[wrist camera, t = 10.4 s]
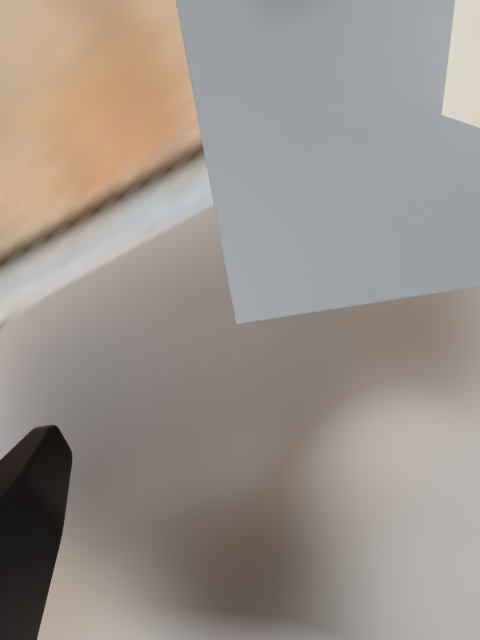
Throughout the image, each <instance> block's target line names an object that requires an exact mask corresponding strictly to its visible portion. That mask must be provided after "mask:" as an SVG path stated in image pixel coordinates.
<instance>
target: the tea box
mask: <svg viewBox="0 0 480 640" xmlns="http://www.w3.org/2000/svg"><path fill="white" fill-rule="evenodd" d="M442 115H444V116H447V117H450V118H453V119H456V120H459V121H461V122H464V123H467V124H470V125H473V126H476V127H479V128H480V0H455V6H454V15H453V23H452V32H451V40H450V49H449V57H448V66H447V74H446V83H445V91H444V100H443V108H442Z"/></svg>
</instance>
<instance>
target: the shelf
mask: <svg viewBox="0 0 480 640" xmlns="http://www.w3.org/2000/svg"><path fill="white" fill-rule="evenodd" d="M176 4H177V10H178V15H179V20H180V26H181V31H182V36H183V42H184V47H185V52H186V58H187V63H188V68H189V74H190V79H191V84H192V89H193V95H194V100H195V105H196V111H197V116H198V121H199V127H200V132H201V137H202V143H203V148H204V153H205V159H206V164H207V169H208V175H209V180H210V185H211V191H212V196H213V201H214V207H215V212H216V217H217V223H218V228H219V233H220V239H221V244H222V249H223V255H224V260H225V265H226V271H227V276H228V281H229V287H230V292H231V297H232V303H233V308H234V313H235V319H236V323H237V324H238V323H246V322H252V321H259V320H265V319H271V318H278V317H283V316H290V315H297V314H304V313H310V312H316V311H323V310H329V309H336V308H342V307H349V306H355V305H361V304H368V303H374V302H381V301H387V300H393V299H400V298H406V297H413V296H419V295H425V294H432V293H439V292H445V291H452V290H458V289H465V288H470V287H477V286H480V128H479V127H476V126H473V125H470V124H467V123H464V122H461V121H459V120H456V119H453V118H450V117H447V116H444V115H442V108H443V100H444V91H445V83H446V74H447V66H448V57H449V49H450V40H451V32H452V23H453V15H454V6H455V0H176Z"/></svg>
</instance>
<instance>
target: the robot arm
mask: <svg viewBox="0 0 480 640" xmlns="http://www.w3.org/2000/svg"><path fill="white" fill-rule="evenodd" d="M71 467H72V452H71V450H70V447H69V446H68V444H67V442H66V440H65V438H64V437H63V435H62V433H61V431H60V430H59V428H58V427H57V426H55V425H47V426H40V427H36V428H34V429H33V430H31V431H30V432H29V433H28V434H27V435H26V436H25V437H24V438H23V439H22V440H21V441H20V442H19V443H18V444H17V445H16V446H15V447H14V448H13V449H12V450H10V451H9V452H8V453H7V454H6V455H5V456H4V458H2V459H1V460H0V640H37V636H38V632H39V628H40V624H41V620H42V616H43V612H44V607H45V603H46V599H47V595H48V591H49V586H50V583H51V579H52V574H53V570H54V566H55V562H56V558H57V554H58V550H59V546H60V541H61V537H62V532H63V526H64V519H65V512H66V505H67V497H68V489H69V481H70V474H71Z"/></svg>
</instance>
